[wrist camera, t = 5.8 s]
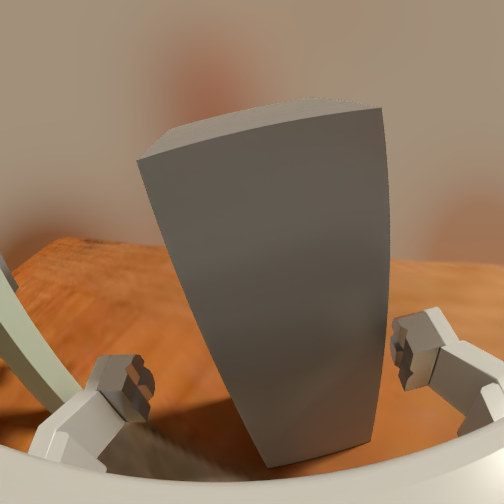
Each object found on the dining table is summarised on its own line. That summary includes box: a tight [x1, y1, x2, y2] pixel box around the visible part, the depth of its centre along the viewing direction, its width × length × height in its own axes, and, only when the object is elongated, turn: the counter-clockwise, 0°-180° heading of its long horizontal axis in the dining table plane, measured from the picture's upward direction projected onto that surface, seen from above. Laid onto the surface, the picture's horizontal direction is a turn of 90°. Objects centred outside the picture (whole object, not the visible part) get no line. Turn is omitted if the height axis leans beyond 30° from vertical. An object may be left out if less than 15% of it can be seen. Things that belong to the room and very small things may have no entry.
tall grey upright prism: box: [137, 97, 390, 468], centre depth 11 cm, size 5×5×14 cm
